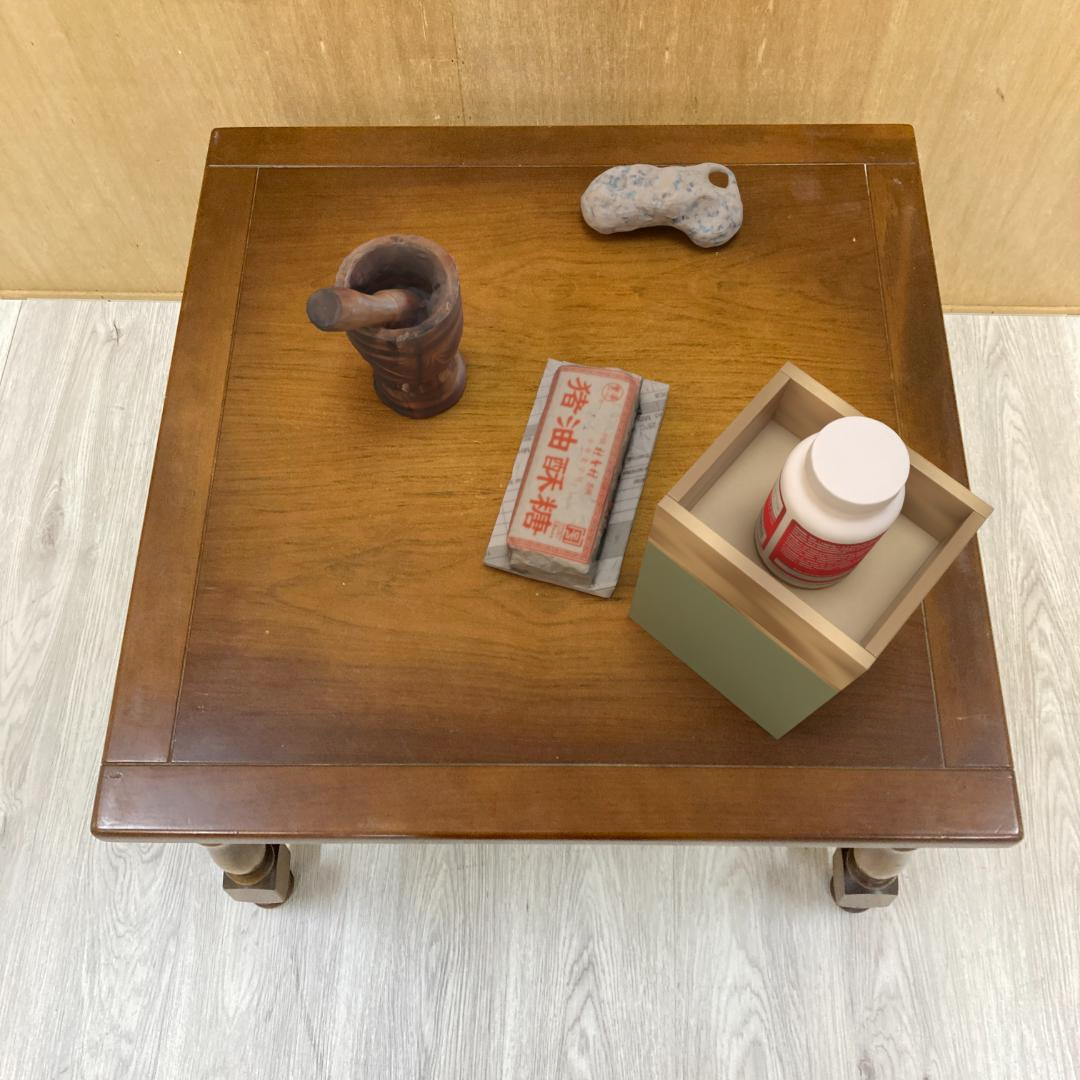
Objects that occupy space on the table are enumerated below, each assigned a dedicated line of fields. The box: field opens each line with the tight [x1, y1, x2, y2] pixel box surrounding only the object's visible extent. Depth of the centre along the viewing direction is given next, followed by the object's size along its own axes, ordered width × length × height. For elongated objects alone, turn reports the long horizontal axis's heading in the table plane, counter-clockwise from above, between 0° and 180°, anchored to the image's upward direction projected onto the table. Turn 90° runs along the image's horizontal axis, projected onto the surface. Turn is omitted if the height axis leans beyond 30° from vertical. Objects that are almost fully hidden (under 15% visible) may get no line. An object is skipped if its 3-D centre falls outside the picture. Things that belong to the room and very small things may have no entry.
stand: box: [627, 540, 840, 740], centre depth 67 cm, size 14×12×16 cm
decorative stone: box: [580, 162, 744, 249], centre depth 84 cm, size 13×7×5 cm, turn 94°
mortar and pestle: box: [305, 233, 467, 419], centre depth 71 cm, size 12×9×20 cm
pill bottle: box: [755, 416, 910, 588], centre depth 54 cm, size 6×6×11 cm
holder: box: [647, 360, 995, 693], centre depth 57 cm, size 14×12×6 cm
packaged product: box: [482, 357, 671, 599], centre depth 76 cm, size 18×5×10 cm
